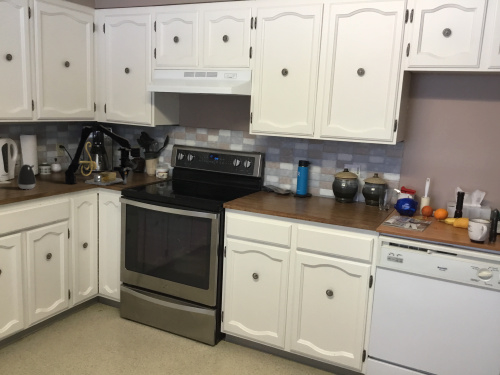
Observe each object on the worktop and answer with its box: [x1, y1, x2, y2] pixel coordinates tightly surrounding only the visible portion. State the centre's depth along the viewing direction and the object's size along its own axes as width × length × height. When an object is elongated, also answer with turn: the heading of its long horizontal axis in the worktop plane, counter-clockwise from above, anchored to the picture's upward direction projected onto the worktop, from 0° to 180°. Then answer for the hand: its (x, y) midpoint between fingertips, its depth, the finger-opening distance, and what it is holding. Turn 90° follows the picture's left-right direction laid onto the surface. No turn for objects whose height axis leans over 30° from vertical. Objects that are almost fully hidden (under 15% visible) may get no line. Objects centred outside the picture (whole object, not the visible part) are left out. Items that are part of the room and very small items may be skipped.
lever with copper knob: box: [122, 172, 127, 185], centre depth 312 cm, size 3×3×8 cm
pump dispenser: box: [17, 163, 37, 191], centre depth 280 cm, size 10×10×15 cm
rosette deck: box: [84, 171, 123, 186], centre depth 318 cm, size 22×16×6 cm
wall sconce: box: [79, 141, 98, 177], centre depth 337 cm, size 14×10×25 cm
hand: (124, 180), depth 313 cm, fingers closed on lever with copper knob, 2 cm apart
